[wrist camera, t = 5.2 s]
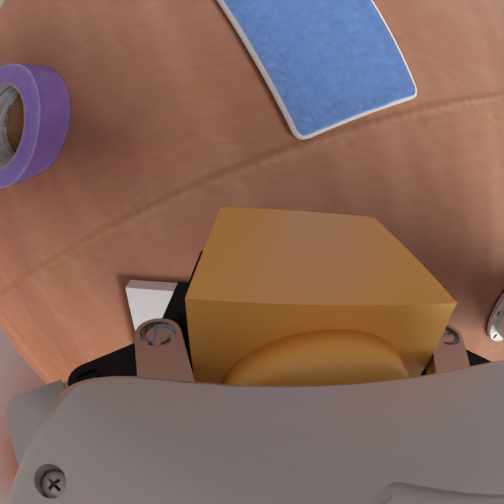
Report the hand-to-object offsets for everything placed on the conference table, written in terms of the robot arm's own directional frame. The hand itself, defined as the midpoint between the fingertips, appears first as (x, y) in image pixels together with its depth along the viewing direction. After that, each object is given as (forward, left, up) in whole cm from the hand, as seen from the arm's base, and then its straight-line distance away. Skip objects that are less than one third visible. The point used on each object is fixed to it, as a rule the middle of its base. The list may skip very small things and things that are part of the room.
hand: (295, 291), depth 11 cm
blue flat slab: (-2, -16, -15) cm, 22 cm away
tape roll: (+24, -8, -15) cm, 30 cm away
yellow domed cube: (0, 0, -1) cm, 1 cm away
